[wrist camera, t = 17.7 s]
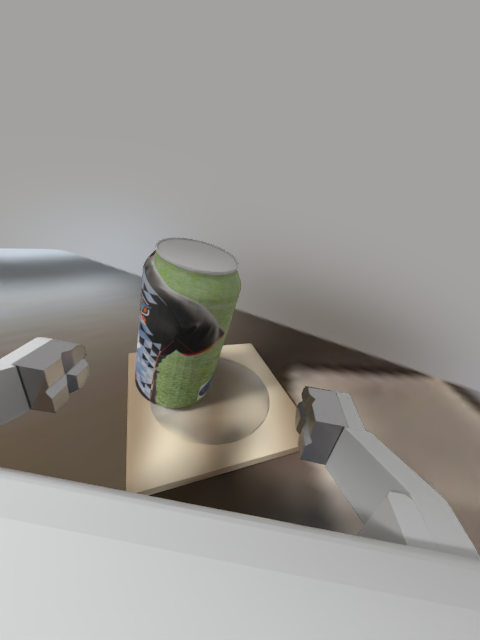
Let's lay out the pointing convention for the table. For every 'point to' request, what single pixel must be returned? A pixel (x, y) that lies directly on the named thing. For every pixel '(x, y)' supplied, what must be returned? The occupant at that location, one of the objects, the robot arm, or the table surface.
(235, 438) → the birch mat
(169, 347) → the beverage can
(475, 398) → the table surface
